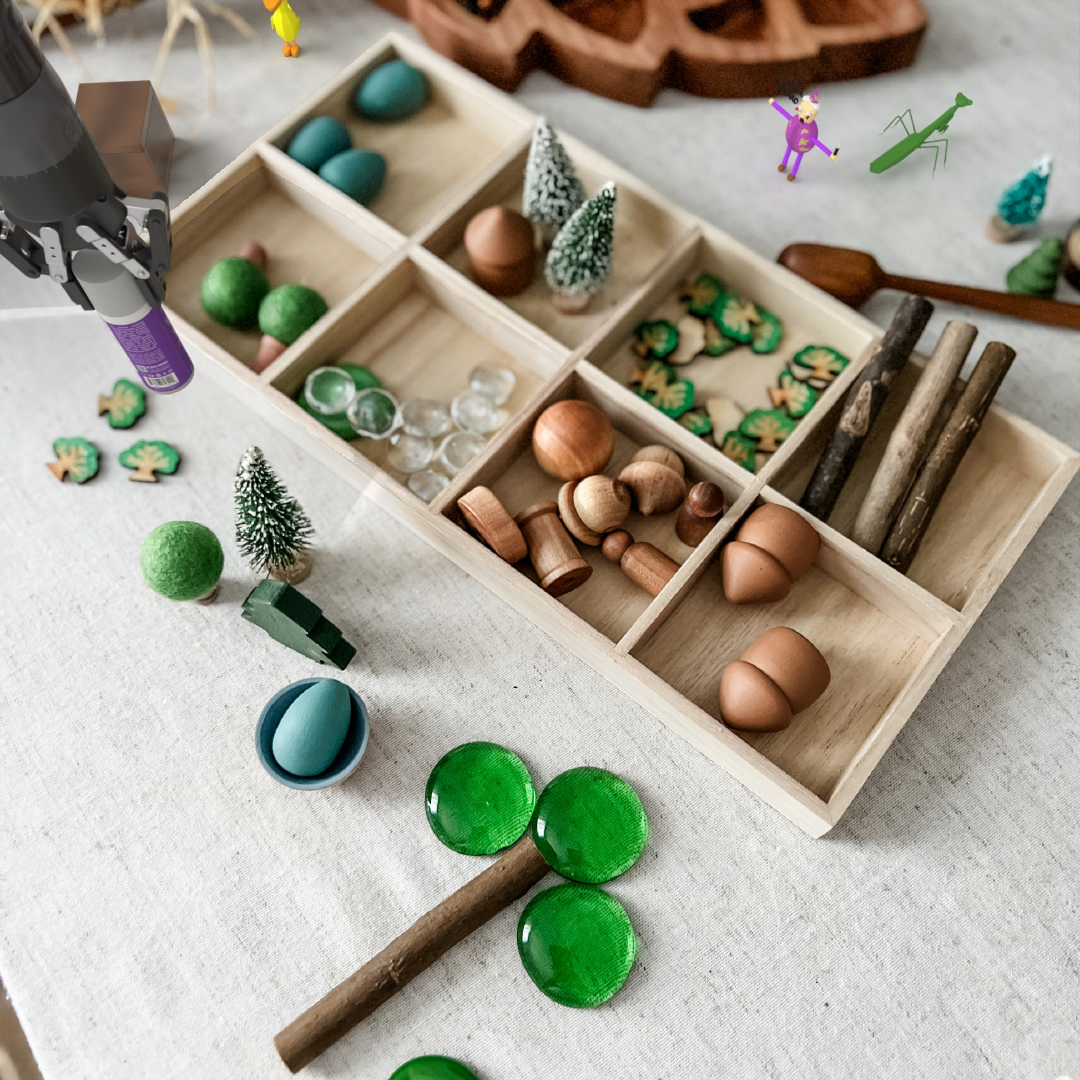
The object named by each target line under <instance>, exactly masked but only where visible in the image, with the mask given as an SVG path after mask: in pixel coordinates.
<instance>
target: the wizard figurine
mask: <svg viewBox="0 0 1080 1080" xmlns="http://www.w3.org/2000/svg"><path fill="white" fill-rule="evenodd" d="M781 80H782V82H784V84H785V85H787V87H788V88H790V87H792V89H791V90H792V91H793V92H794V93H797V92H798V89H799V86H798V85H797V84H796V83H794V84H793V80H791V78H789V77H787V76H786V75H785V73H783V72H780V81H781ZM792 84H793V85H792ZM776 87H777V90H779V92H781V94H782V95H784V96H785V97H788V100H789V101H791V103H793V104H794V105H797V104H798V103H799V98H798V97H797V96H795V94H792V92H791V91H789V89H788V88H787V87H786V86H783V84H780V82H777V86H776ZM803 91H804V90H803V89H802V90H800V91H799V92H798V94H797V95H798V96H799V95H800V98H801V99H802V100H801V102H800V104H798V105H797V107H795V109H794V110H795V111H797V113H796V114H795V115H793V116H792V114H790V113H789V112H788V111H787V110H785V109H784V108H783V107H782V106H781V105H780V104H779V103H778V102H776V100H775V98H773V97H770V98H769V99H768V104H769V106H770V107H773V108H774V109H775V110H776V111H777V112H779V113H780V115H782V116H783V117H784V118H785V119H786V120H787V121H788V122H787V124H786V127H785V131H784V133H785V135H784V136H785V141H786V144H787V145H786V150H785V153H784V156H783V159H782V161H781V164H779V165H778V167H777V170H778V171H779V172H783V171H785V170H786V169H787V166H788V162H789V160H790V156H791V154H792V151H793V152H794V153H797V155H796V158H795V161H794V164H793V166H792V169H791V173H788V174H787V176H786V180H787V181H789V182H792V181H794V180H795V179H796V177H797V174H798V171H799V168H800V164H801V162H802V160H803V156H804V154H806V153H808V152H810V151H811V150H813V148H814V147H815V146H816V147H817V148H819V150H821V151H822V152H823V153H824V154H825V155H827V156H828V157H829V158H830V160H831V161H832V162H835V161H837V159H838V153H839V151H840V148H841V144H840V143H838V144H836V146H835V149H834V151H832V150H830V149H829V148H828V147H827V146H826V145H825V144H823V142H821V141H820V140H819V139H818V138H819V127H818V124H817V122H816V120H815V118H816V117H817V115H818V114H819V113H820V111H821V109H822V105H821V104H820V103H819V102H818V101H819V95H818V94H819V88H816V90H815V91H814V92H813V93H812V94H811V95H810V94H809V95H808V94H807V95H804V96H803V93H804V92H803ZM787 92H788V93H787Z"/></svg>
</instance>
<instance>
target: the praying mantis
mask: <svg viewBox="0 0 1080 1080" xmlns="http://www.w3.org/2000/svg"><path fill="white" fill-rule="evenodd" d="M954 102H955V104H954V105H953V106H950V107H949V108H948V109H947V110H946V111H944V112H943V113H942V114H941V115H940V116H939V117H937V118H936V119H935V120H934V121H933V122H931V123H930V124H929V125H927V126H925V127H924V128H923V129H922V130H921V131H920V132H917V131H916V127H915V122H914V119H913V114H912V110H911V108H908V109H906V111H905V112H904V113H903V114H902V116H900V115H899V114H898V115H897V116H895V117H894V118H893V120H892V121H890V123H889V124H888V125H887V126H886V128H885V129H884V130H883V131H882V133H886V131H887V130H888V128H890V126H891V125H892V124H893V123H894V122H895V121H896V120H897V118H898V120H897V121H896V122H895V124H894V125H893V127H892V128H894V127H895V126H897V124H898V123H899V122H901V124H902V127H903V128H904V130H905V132H906V135H907V136H906V137H905V138H903V139H902V140H901V141H899V142H897V143H896V144H895V145H894V146H891V147H890V148H889V149H888V150H886V151H885V152H884V153H882V154H881V155H880V156H879V157H877V158H876V159H874V160H872V162H870V163H869V173H872V174H878V175H880V174H882V173H883V172H885V171H887V170H888V169H890V168H892V167H894V166H896V165H897V164H899V163H900V162H902V161H903V160H904V159H906V158H907V157H908V156H910V155H911V154H912V153H914V152H915V151H916V150H918V149H932V148H935V149H936V154H935V159H934V164H933V165H934V166H933V170H932V172H933V174H932V178H933V179H935V177H934V175H935V171H936V168H937V161H938V154H939V150H940V146H938V145H926V144H931V143H937V142H943V141H945V143H946V144H945V151H944V159H943V160H944V161H943V163H944V164H943V168H944V169H945V171H947V169H946V167H945V166H946V161H947V154H948V146H949V145H948V144H949V139H948V138H941V139H935V140H929V141H926V140H927V139H929V137H930V136H931V135H932V134H933V133H934V132H935V131H937V133H940V135H943V134H944V133H945V132H946V131H947V130H948V129H949V128H950V125H949V123H950V121H951V120H952V119H953V118H954V116H955V113H956V111H957V110H958V109H959V108H965V107H967V106H968V107H969V106H972V105H973V104H974V103H973V102H974V101H973V99H969V98H968V97H967V96H965V95H964V94H963V92H961V91H959V92H957V93H956V96H955V97H954ZM907 113H908V114H909V117H910V121H911V125H912V128H913V133H909V130H908V129H907V127H906V124H905V122H904V120H903V118H904V116H905V115H906V114H907ZM882 133H880V134H879V136H880V135H882ZM925 145H926V146H925Z"/></svg>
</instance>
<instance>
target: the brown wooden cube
mask: <svg viewBox="0 0 1080 1080" xmlns="http://www.w3.org/2000/svg"><path fill="white" fill-rule="evenodd" d="M74 104H75V106H76V108H77V110H78V112H79V114H80V116H81V118H82V120H83V121H84V123H85V125H86V127H87V129H88V131H89V133H90V135H91V137H92V138H93V140H94V142H95V144H96V146H97V148H98V150H99V152H100V154H101V156H102V157H103V159H104V161H105V164H106V166H107V169H108V171H109V174H110V176H111V179H112V180H113V181H114V182H115V183H116V184H117V185H118V186H119V187H120V188H122V189H123V190H124V191H125V192H126V193H127V195H128V197H135V198H142V199H149V200H150V197H151V193H153V192H155V191H159V192H163V193H164V194H166V195H167V196H168V191H169V183H170V175H171V168H172V160H173V151H174V143H175V134H174V131H173V130H172V127H171V125H170V123H169V120H168V118H167V115H166V114H165V111H164V109H163V107H162V104H161V102H160V100H159V98H158V96H157V93H156V91H155V89H154V86H153V84H152V81H151V80H150V79H144V80H122V81H100V82H99V81H98V82H82V83H81V82H80V83H78V86H77V92H76V97H75V102H74Z"/></svg>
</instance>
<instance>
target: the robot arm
mask: <svg viewBox="0 0 1080 1080" xmlns="http://www.w3.org/2000/svg"><path fill="white" fill-rule="evenodd" d="M170 210H171V209H170V200H169V196H168V194H167V195H166V194H164V193H163V192H159V191H155V192H153V193H151V197H150V199H142V198H135V197H128V195H127V193H126V192H125V191H124V190H123V189H122V188H120V187H119V186H118V185H117V184H116V183H115V182H114V181H113V180H112V179H111V176H110V174H109V171H108V169H107V166H106V164H105V161H104V159H103V157H102V156H101V154H100V152H99V150H98V148H97V146H96V144H95V142H94V140H93V138H92V137H91V135H90V133H89V131H88V129H87V127H86V125H85V123H84V121H83V120H82V118H81V116H80V114H79V112H78V110H77V108H76V106H75V102H74V101H73V98H72V97H71V95H70V93H69V91H68V89H67V87H66V85H65V84H64V82H63V80H62V78H61V77H60V75H59V74H58V72H57V70H55V68H54V66H53V64H51V62H50V61H49V59H47V56H46V55H45V54H44V52H43V50H42V49H41V47H40V46H39V43H38V41H37V40H36V38H35V36H34V34H33V31H31V28H30V26H29V24H28V23H27V21H26V19H25V17H24V15H23V13H22V11H21V9H20V7H19V5H18V3H17V1H16V0H0V255H1V256H2V257H3V258H4V259H6V260H7V261H8V262H9V263H10V264H11V265H13V266H14V267H15V268H16V269H17V270H18V271H19V272H21V274H23V275H24V276H25V277H27V278H29V279H33V280H35V279H36V280H37V279H39V278H40V277H41V276H42V275H43V276H48V277H50V279H51V280H52V281H54V282H56V283H59V284H60V286H61V287H62V289H63V290H64V292H65V293H66V294H67V296H68V298H69V299H70V300H71V302H73V303H74V304H75V305H77V306H80V307H81V308H82V309H83V311H84V312H87V311H88V312H89V311H90V312H91V311H92V312H93V311H96V309H95V308H94V306H93V304H92V303H91V301H90V299H89V298H88V296H87V294H86V293H85V291H84V289H83V288H82V286H81V284H80V283H79V281H78V280H77V278H76V276H75V275H74V273H73V270H72V261H73V258H72V257H73V252H78V251H79V250H81V249H93V250H100V251H101V252H102V253H103V254H104V255H105V256H107V257H108V258H109V259H110V260H111V261H112V262H113V263H115V264H119V263H121V264H122V265H123V266H124V267H125V268H126V269H128V270H129V271H130V272H131V273H132V274H133V275H134V276H135V281H136V283H137V284H138V286H139V288H140V290H141V291H142V293H143V295H144V297H145V298H146V300H147V302H148V304H149V305H150V307H161V306H162V302H164V301H166V295H167V285H168V282H167V280H166V279H165V277H164V274H163V273H168V272H170V270H171V264H172V256H173V250H174V249H173V248H174V240H173V230H172V221H171V212H170ZM128 216H130V217H132V218H133V219H135V220H136V221H137V223H138V225H139V226H140V227H141V231H142V233H145V234H148V237H149V244H148V243H147V242H146V241H145V240H144V239H143V238H142V237H141V236H140V235H138V233H137V230H136V227H135V225H134V223H132V222H131V221H130V220H129V219H128V218H127V217H128ZM33 236H34V237H37V238H38V239H40V241H41V243H42V244H41V243H40V242H39V241H37V239H35V238H34V237H33ZM24 252H25V253H24Z"/></svg>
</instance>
